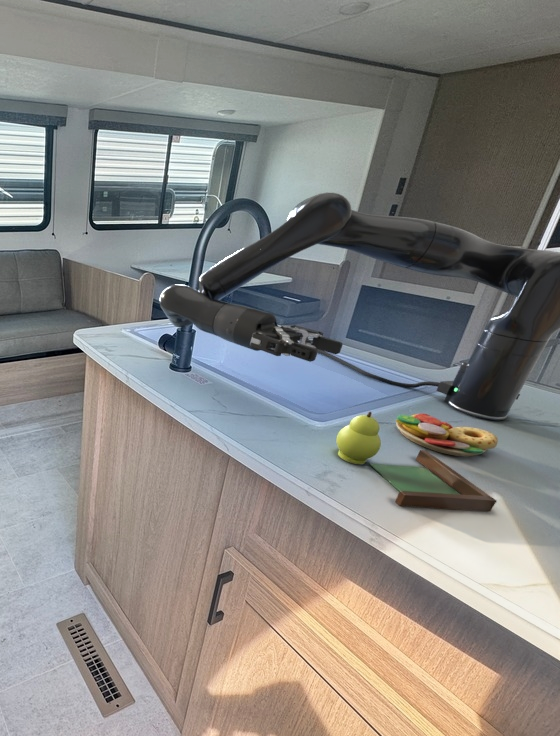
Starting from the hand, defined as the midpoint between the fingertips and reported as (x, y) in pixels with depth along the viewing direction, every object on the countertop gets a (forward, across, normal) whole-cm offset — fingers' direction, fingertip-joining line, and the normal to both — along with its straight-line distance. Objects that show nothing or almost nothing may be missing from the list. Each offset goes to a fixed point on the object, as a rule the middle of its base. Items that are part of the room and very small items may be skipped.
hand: (328, 352), depth 73 cm
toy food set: (+14, +21, +16) cm, 30 cm away
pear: (+9, 0, +16) cm, 18 cm away
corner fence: (+17, +1, +16) cm, 23 cm away
